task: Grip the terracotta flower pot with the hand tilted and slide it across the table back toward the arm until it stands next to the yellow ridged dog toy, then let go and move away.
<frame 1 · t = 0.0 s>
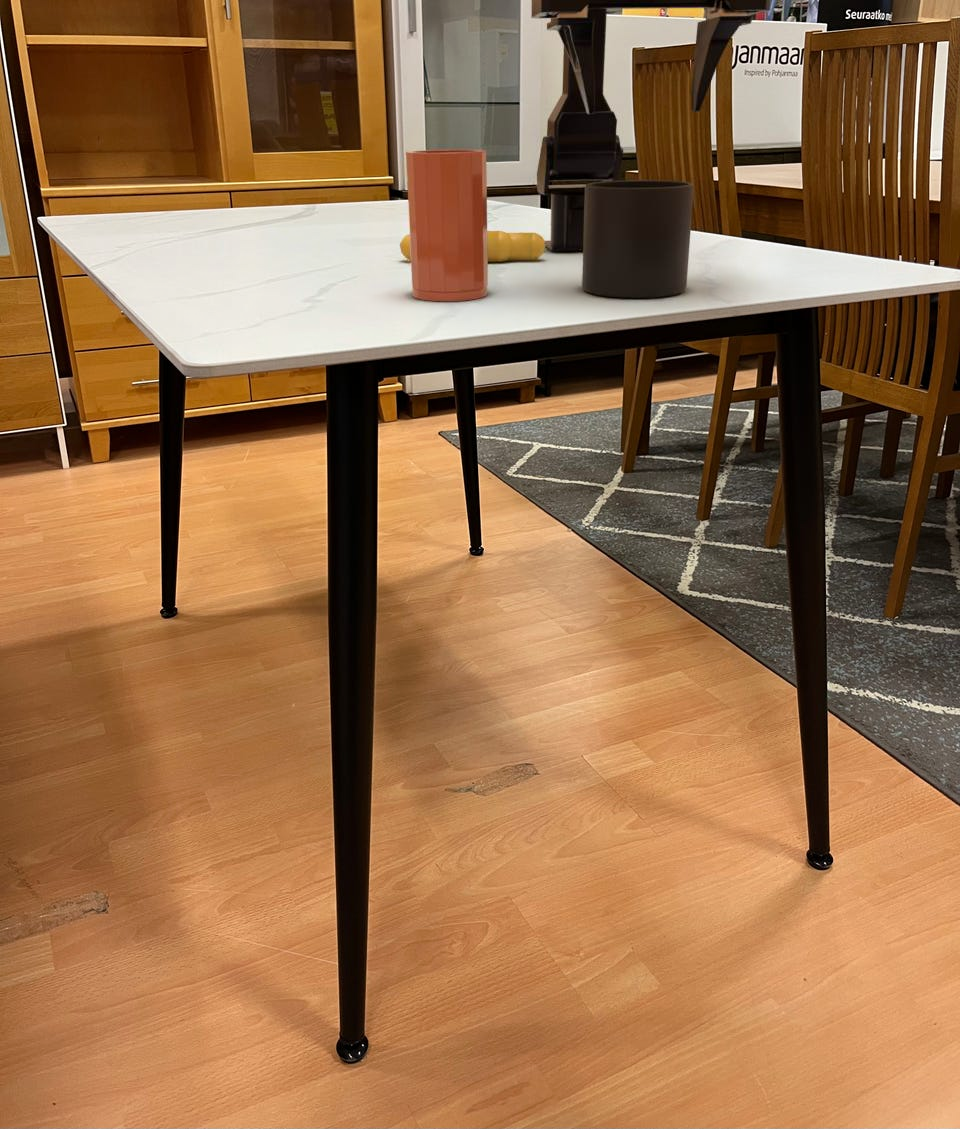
hand: (643, 113, 82), 15 cm above the table, tool pointing down, fingers open, 9 cm apart
pot: (450, 294, 87), on the table
yellow ridged dog toy: (472, 261, 106), on the table
mug: (632, 289, 89), on the table
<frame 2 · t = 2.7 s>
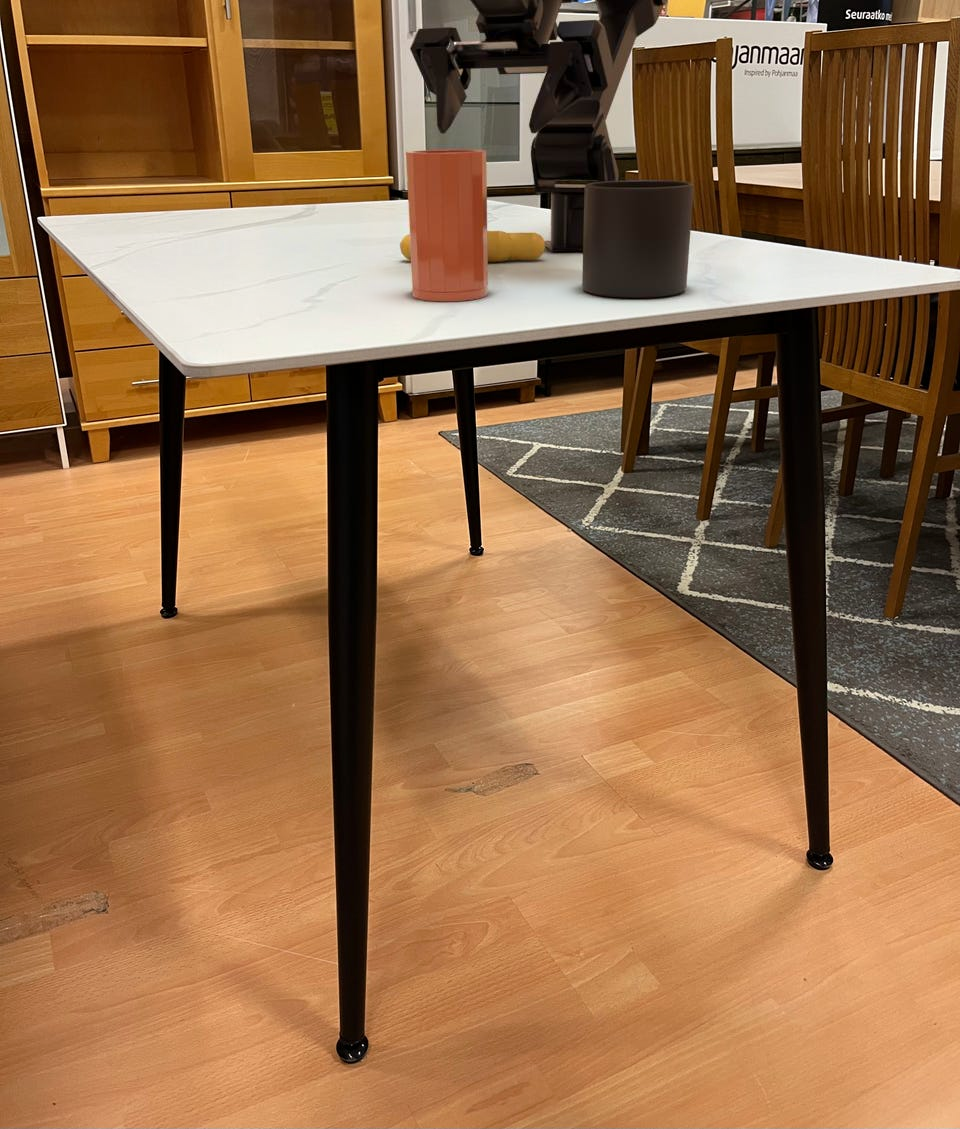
hand: (485, 130, 88), 13 cm above the table, tool tilted 45°, fingers open, 9 cm apart
nothing on the table moved.
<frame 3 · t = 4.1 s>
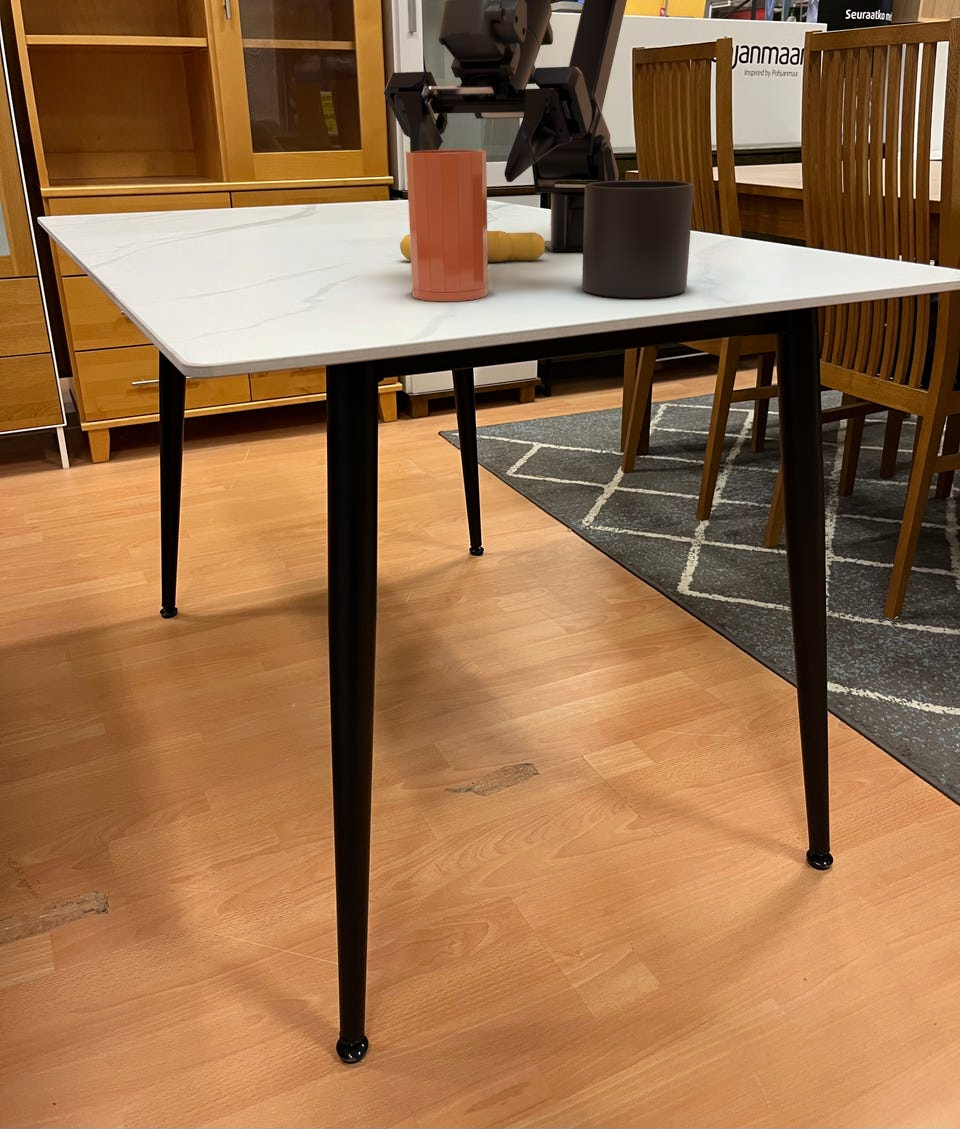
hand: (459, 177, 85), 10 cm above the table, tool tilted 45°, fingers open, 9 cm apart
nothing on the table moved.
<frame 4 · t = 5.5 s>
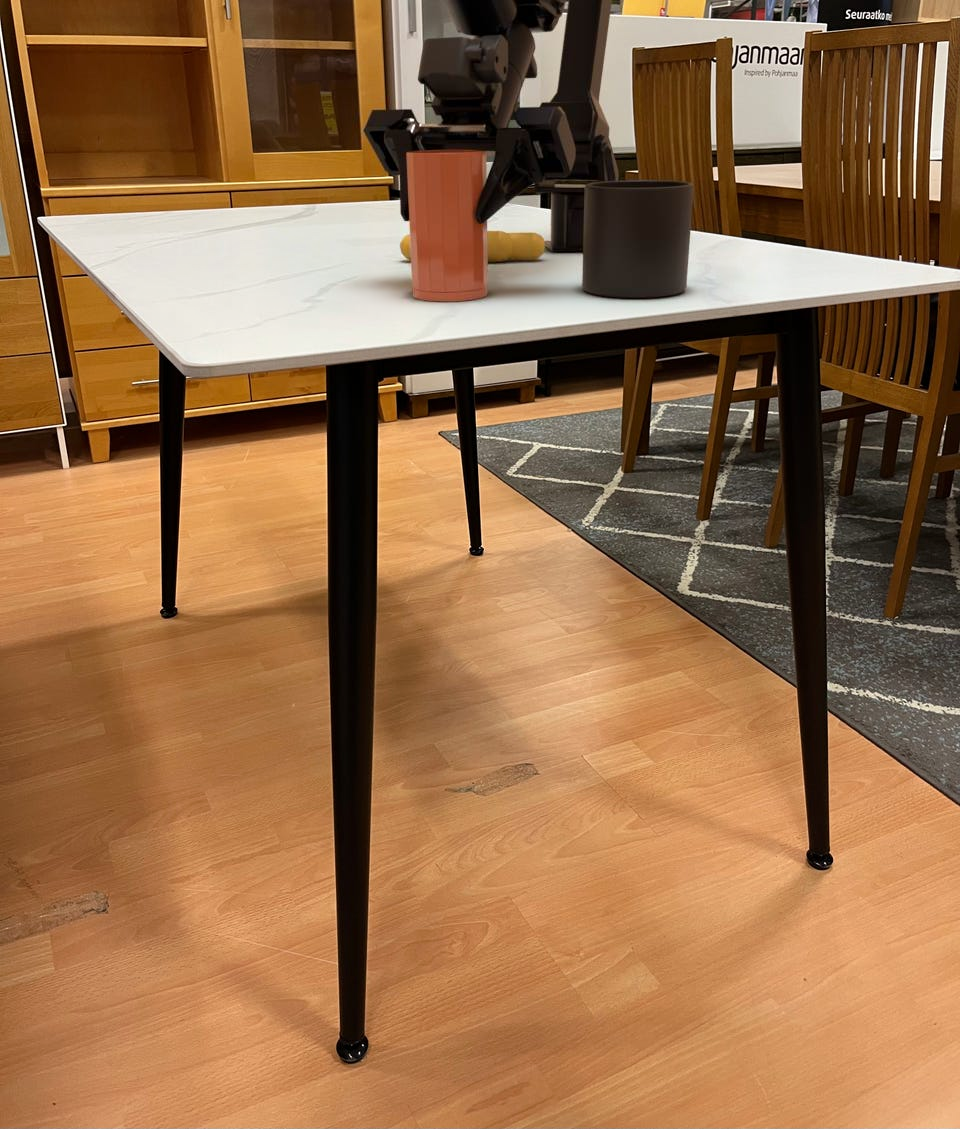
hand: (440, 219, 83), 7 cm above the table, tool tilted 45°, fingers closed on pot, 7 cm apart
pot: (450, 294, 87), on the table, touching gripper
everything else where it was.
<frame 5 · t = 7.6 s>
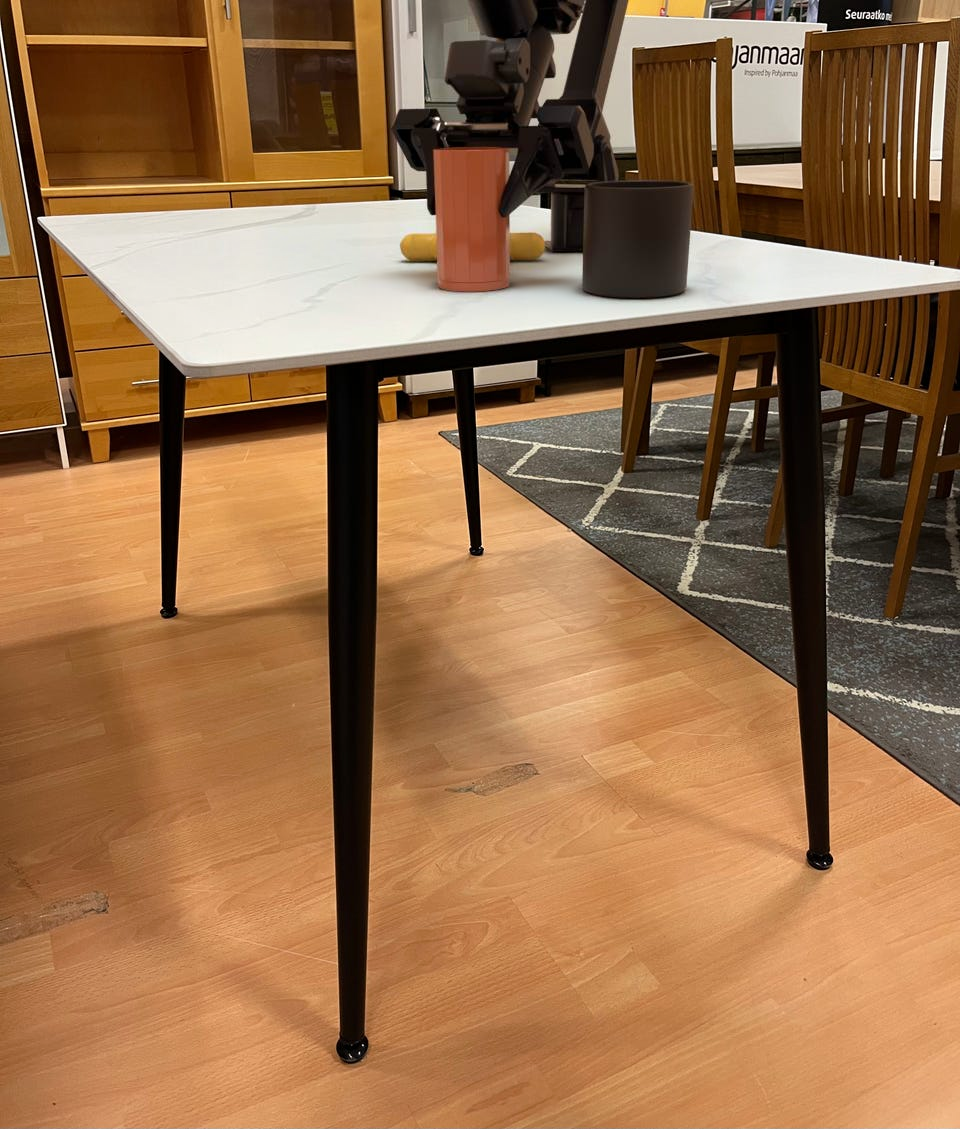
hand: (465, 213, 87), 7 cm above the table, tool tilted 45°, fingers closed on pot, 7 cm apart
pot: (473, 285, 91), on the table, touching gripper
everything else where it was.
when the fingers open (7 cm above the table, at t = 9.7 s): pot stays where it is, on the table.
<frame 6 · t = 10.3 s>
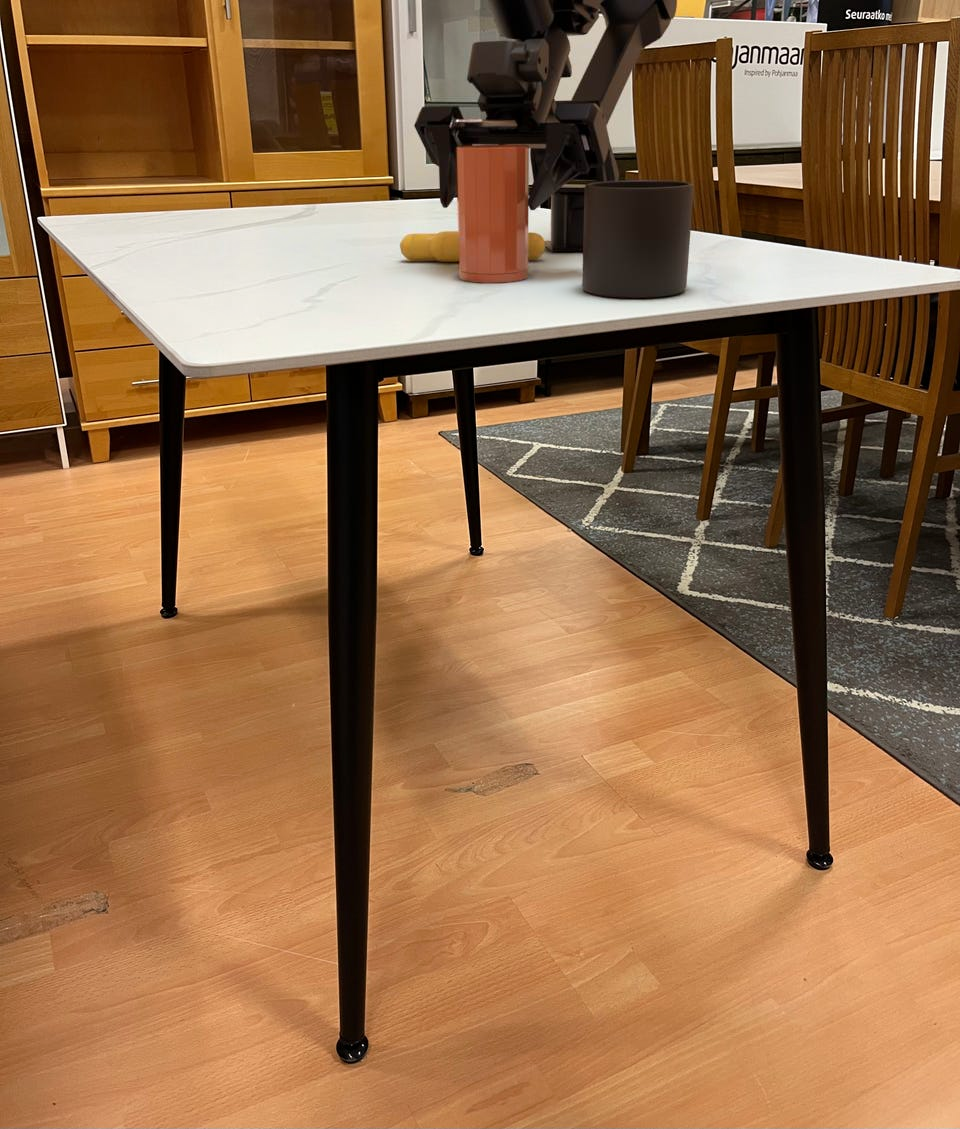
hand: (486, 205, 92), 7 cm above the table, tool tilted 45°, fingers open, 9 cm apart
pot: (493, 277, 96), on the table
everything else where it was.
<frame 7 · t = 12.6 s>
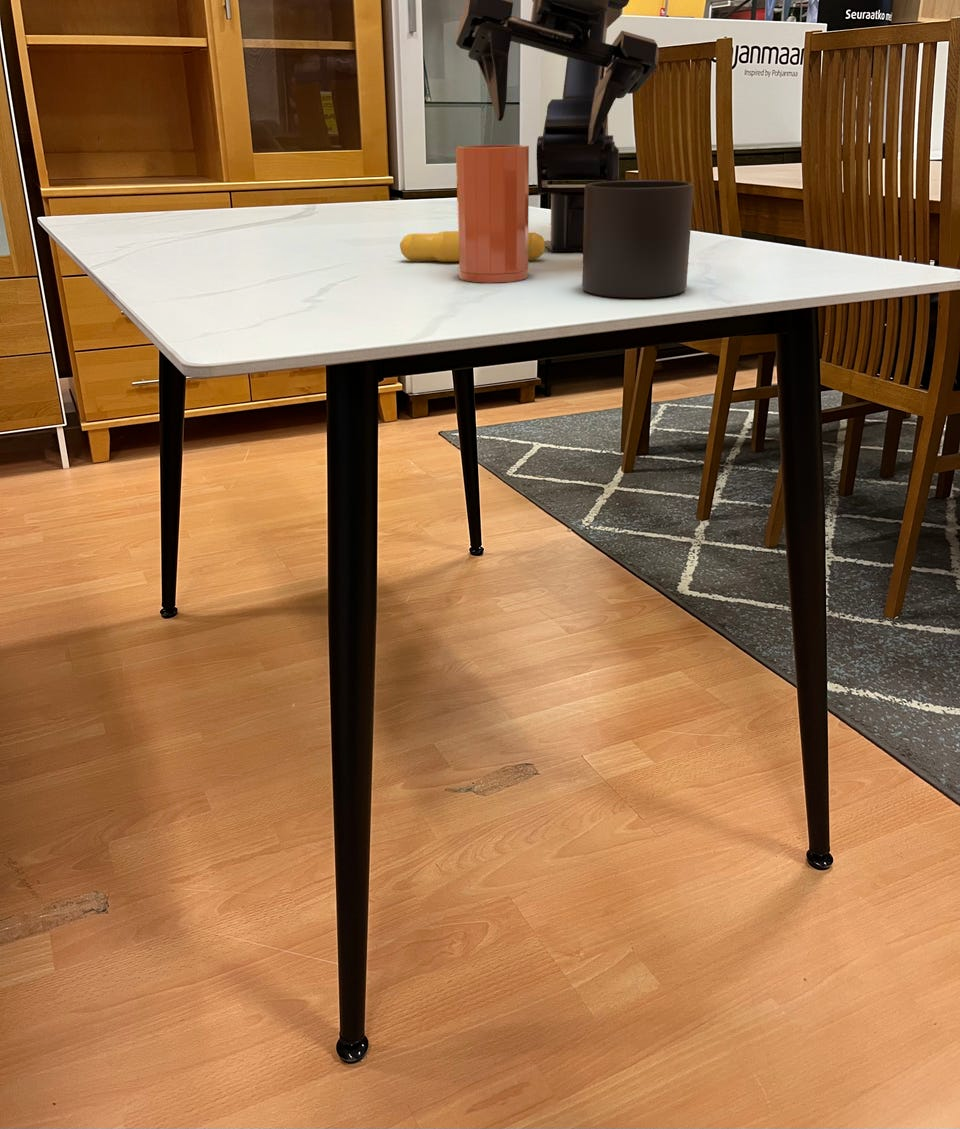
hand: (546, 131, 91), 13 cm above the table, tool tilted 30°, fingers open, 9 cm apart
nothing on the table moved.
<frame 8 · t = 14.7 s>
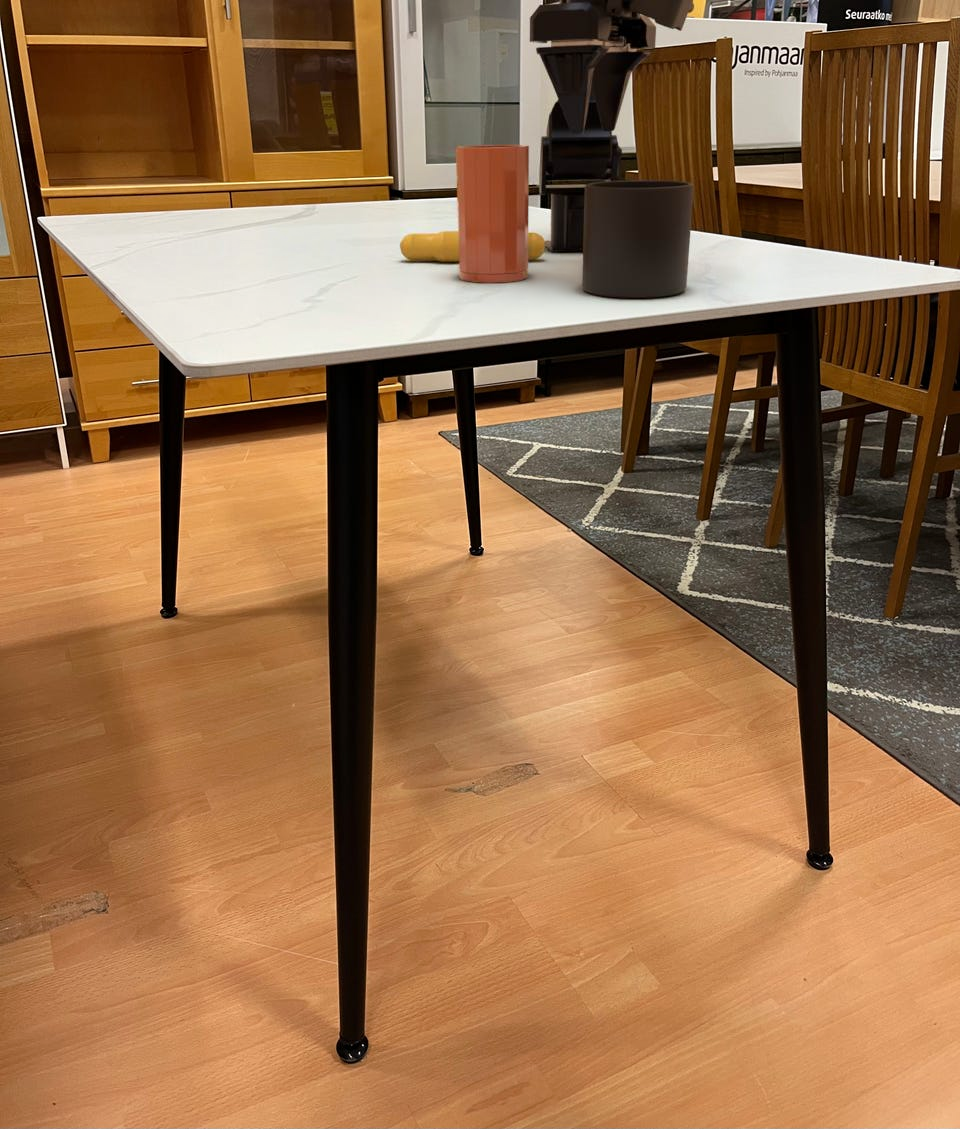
hand: (593, 132, 92), 13 cm above the table, tool pointing down, fingers open, 9 cm apart
nothing on the table moved.
at the end: pot 11.0 cm from the yellow ridged dog toy (horizontally); pot moved 10.4 cm from its start; pot tilted 0° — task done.
